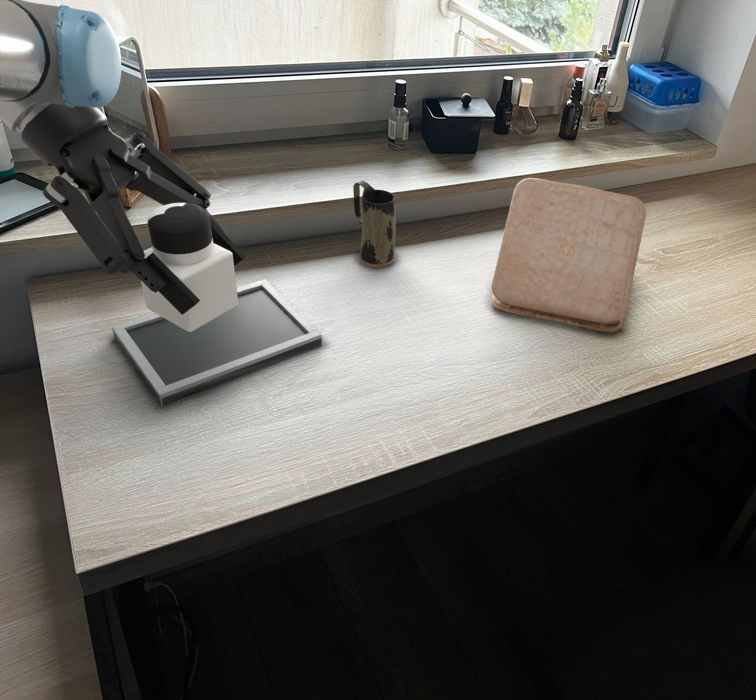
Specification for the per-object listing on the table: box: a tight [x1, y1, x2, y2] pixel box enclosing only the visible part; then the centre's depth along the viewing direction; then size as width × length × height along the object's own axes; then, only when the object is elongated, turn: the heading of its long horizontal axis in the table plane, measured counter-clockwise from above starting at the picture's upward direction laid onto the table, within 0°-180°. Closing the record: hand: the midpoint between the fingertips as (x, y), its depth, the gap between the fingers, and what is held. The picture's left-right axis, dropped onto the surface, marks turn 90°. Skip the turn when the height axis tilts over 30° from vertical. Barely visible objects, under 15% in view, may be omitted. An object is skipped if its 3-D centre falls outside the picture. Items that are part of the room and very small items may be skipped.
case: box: [491, 177, 647, 333], centre depth 111 cm, size 20×21×16 cm
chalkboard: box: [111, 278, 323, 408], centre depth 97 cm, size 22×16×2 cm
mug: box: [352, 180, 397, 268], centre depth 115 cm, size 8×6×12 cm
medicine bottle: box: [140, 203, 238, 332], centre depth 78 cm, size 7×7×12 cm
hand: (215, 284), depth 79 cm, fingers closed on medicine bottle, 9 cm apart
